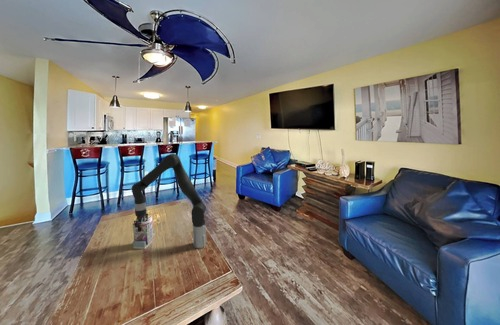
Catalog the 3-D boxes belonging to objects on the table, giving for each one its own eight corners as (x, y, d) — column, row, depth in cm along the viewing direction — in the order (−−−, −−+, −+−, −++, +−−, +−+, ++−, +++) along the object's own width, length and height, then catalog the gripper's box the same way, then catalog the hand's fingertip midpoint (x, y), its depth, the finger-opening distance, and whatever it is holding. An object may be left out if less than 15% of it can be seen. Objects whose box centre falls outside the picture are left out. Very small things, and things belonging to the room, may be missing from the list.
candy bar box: (133, 244, 143) (132, 223, 141) (138, 240, 148) (136, 220, 146) (147, 245, 142) (146, 224, 140) (151, 241, 147) (150, 221, 145)
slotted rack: (141, 241, 150) (140, 235, 150) (152, 242, 150) (151, 235, 149) (133, 248, 141) (132, 241, 140) (144, 248, 141) (144, 242, 140)
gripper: (139, 212, 134) (140, 234, 136) (151, 205, 148) (152, 225, 150) (129, 212, 134) (130, 234, 137) (141, 204, 148) (143, 224, 151)
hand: (142, 229), depth 144 cm, fingers closed on candy bar box, 5 cm apart
